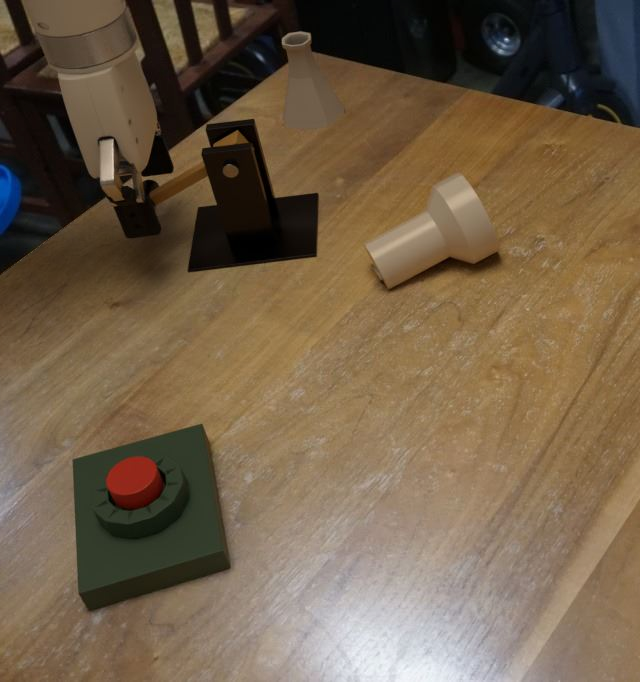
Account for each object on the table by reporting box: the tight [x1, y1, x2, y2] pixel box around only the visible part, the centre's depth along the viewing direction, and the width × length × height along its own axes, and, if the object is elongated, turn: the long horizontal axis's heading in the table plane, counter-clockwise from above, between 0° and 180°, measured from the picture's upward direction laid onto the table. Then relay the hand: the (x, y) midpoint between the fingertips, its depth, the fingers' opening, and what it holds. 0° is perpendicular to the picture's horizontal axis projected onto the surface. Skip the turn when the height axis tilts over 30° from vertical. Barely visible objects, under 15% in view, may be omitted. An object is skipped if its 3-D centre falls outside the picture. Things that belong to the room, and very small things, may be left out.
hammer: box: [142, 130, 254, 211], centre depth 101 cm, size 12×5×2 cm, turn 96°
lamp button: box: [106, 456, 163, 510], centre depth 79 cm, size 4×4×2 cm
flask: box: [281, 30, 345, 132], centre depth 119 cm, size 7×7×10 cm
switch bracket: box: [187, 118, 320, 273], centre depth 103 cm, size 12×10×12 cm
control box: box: [72, 423, 232, 612], centre depth 81 cm, size 13×10×4 cm
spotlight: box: [363, 172, 501, 290], centre depth 100 cm, size 8×11×8 cm
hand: (151, 203), depth 103 cm, fingers open, 9 cm apart
